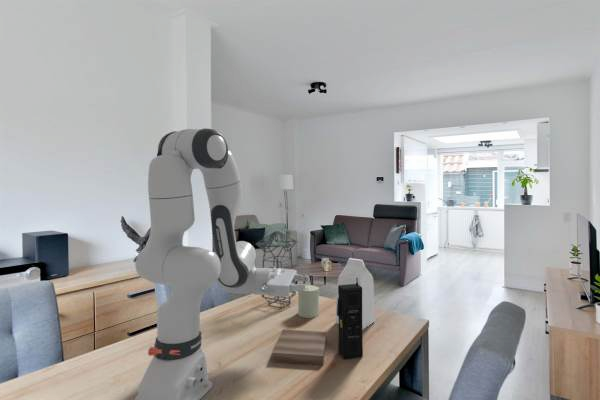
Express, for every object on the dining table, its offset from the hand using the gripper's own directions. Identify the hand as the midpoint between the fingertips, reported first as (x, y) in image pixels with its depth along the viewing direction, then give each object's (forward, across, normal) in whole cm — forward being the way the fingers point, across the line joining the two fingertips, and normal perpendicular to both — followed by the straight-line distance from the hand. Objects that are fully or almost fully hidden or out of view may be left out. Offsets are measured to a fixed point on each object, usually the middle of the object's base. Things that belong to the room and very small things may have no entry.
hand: (306, 282), depth 115 cm
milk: (+17, +28, +24) cm, 40 cm away
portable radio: (+14, 0, +24) cm, 27 cm away
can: (-3, +34, +24) cm, 42 cm away
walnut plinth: (-2, 0, +23) cm, 23 cm away
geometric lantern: (-19, +46, +24) cm, 55 cm away
